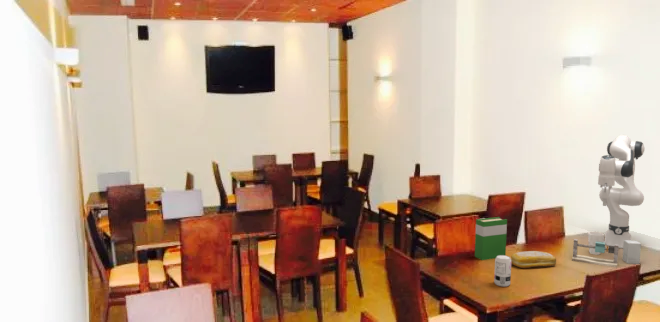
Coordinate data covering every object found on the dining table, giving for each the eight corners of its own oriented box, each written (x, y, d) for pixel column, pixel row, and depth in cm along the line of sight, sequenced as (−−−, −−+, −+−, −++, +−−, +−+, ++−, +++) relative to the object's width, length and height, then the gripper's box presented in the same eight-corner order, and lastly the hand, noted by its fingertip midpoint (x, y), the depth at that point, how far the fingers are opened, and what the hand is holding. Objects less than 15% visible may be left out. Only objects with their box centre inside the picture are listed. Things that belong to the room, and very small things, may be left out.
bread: (506, 263, 305) (507, 250, 304) (544, 260, 312) (545, 247, 311) (520, 271, 292) (521, 257, 291) (559, 267, 299) (560, 254, 298)
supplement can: (491, 281, 275) (492, 255, 273) (506, 281, 276) (507, 254, 274) (497, 287, 267) (499, 259, 265) (512, 286, 268) (514, 259, 266)
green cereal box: (497, 253, 324) (499, 217, 321) (505, 256, 317) (507, 219, 314) (474, 256, 318) (476, 219, 315) (482, 260, 311) (483, 222, 308)
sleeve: (595, 249, 309) (596, 241, 308) (604, 251, 306) (605, 242, 306) (594, 251, 305) (595, 243, 304) (604, 253, 303) (604, 244, 302)
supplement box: (639, 264, 303) (641, 243, 302) (626, 263, 305) (628, 243, 303) (635, 260, 310) (636, 240, 309) (621, 259, 312) (623, 239, 310)
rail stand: (573, 256, 318) (574, 237, 317) (617, 262, 306) (618, 243, 304) (571, 260, 310) (573, 241, 308) (616, 267, 297) (618, 247, 296)
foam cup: (585, 253, 323) (586, 233, 322) (587, 250, 331) (588, 230, 329) (602, 256, 318) (603, 236, 316) (603, 252, 326) (605, 232, 324)
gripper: (611, 185, 298) (609, 208, 300) (612, 180, 316) (611, 201, 317) (599, 184, 301) (597, 206, 303) (601, 179, 319) (600, 200, 321)
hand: (604, 204), depth 310 cm, fingers open, 8 cm apart
